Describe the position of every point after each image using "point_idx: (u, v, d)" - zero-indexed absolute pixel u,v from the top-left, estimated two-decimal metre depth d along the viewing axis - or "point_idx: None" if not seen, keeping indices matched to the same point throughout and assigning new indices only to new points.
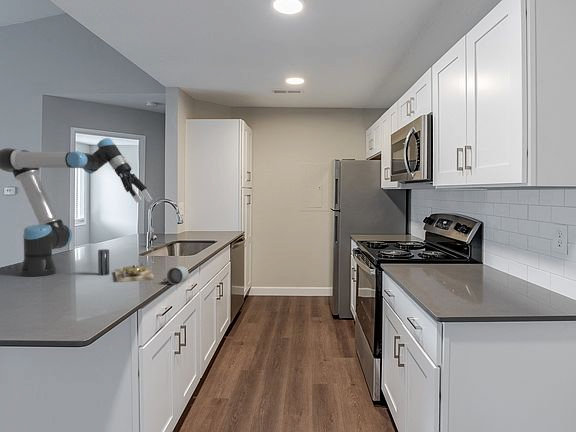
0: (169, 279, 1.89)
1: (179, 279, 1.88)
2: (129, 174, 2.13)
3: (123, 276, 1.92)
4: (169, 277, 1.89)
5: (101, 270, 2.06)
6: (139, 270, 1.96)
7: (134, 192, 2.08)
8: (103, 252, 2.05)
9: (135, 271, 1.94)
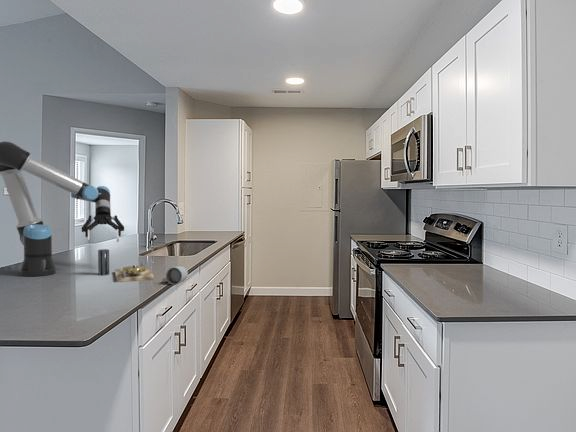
0: (168, 279, 1.89)
1: (178, 279, 1.88)
2: None
3: (123, 276, 1.92)
4: (168, 277, 1.89)
5: (101, 270, 2.06)
6: (139, 270, 1.96)
7: None
8: (103, 252, 2.05)
9: (135, 271, 1.94)
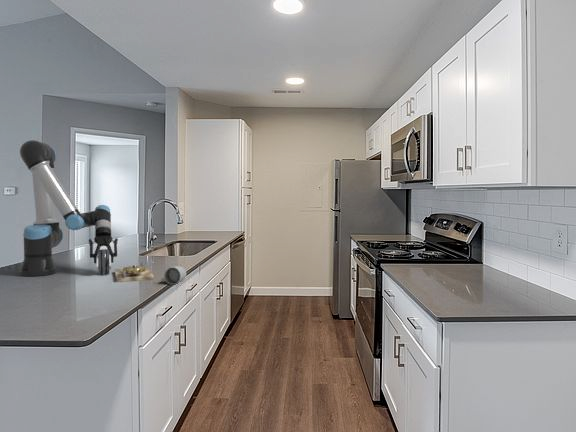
0: (167, 279, 1.89)
1: (177, 279, 1.88)
2: None
3: (123, 276, 1.92)
4: (167, 277, 1.90)
5: (101, 270, 2.06)
6: (139, 270, 1.96)
7: None
8: (103, 252, 2.05)
9: (135, 271, 1.94)
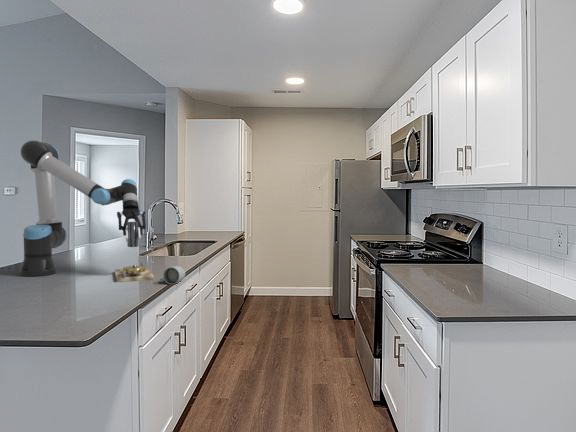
0: (166, 278, 1.90)
1: (176, 279, 1.89)
2: None
3: (123, 276, 1.92)
4: (166, 277, 1.90)
5: (130, 242, 2.04)
6: (139, 270, 1.96)
7: None
8: (132, 224, 2.04)
9: (135, 271, 1.94)
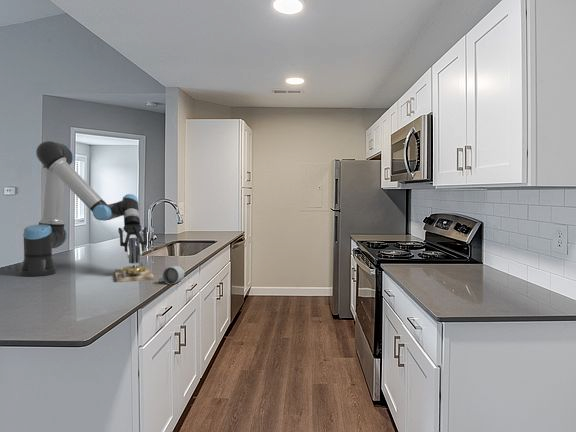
0: (165, 278, 1.90)
1: (175, 279, 1.89)
2: None
3: (123, 276, 1.92)
4: (165, 277, 1.90)
5: (132, 258, 2.05)
6: (139, 270, 1.96)
7: None
8: (134, 240, 2.04)
9: (135, 271, 1.94)
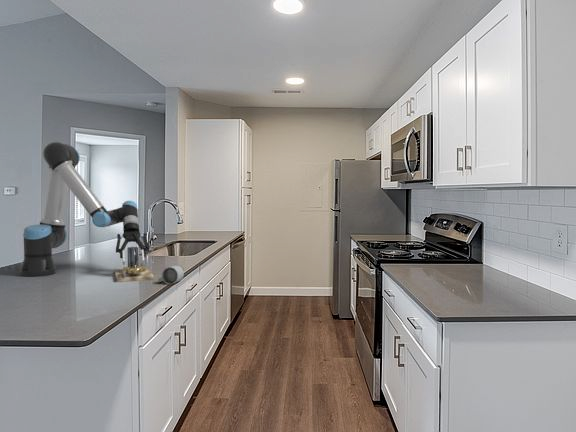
0: (164, 278, 1.90)
1: (174, 279, 1.89)
2: None
3: (123, 276, 1.92)
4: (164, 277, 1.90)
5: None
6: (139, 270, 1.96)
7: None
8: (133, 250, 2.04)
9: (135, 271, 1.94)
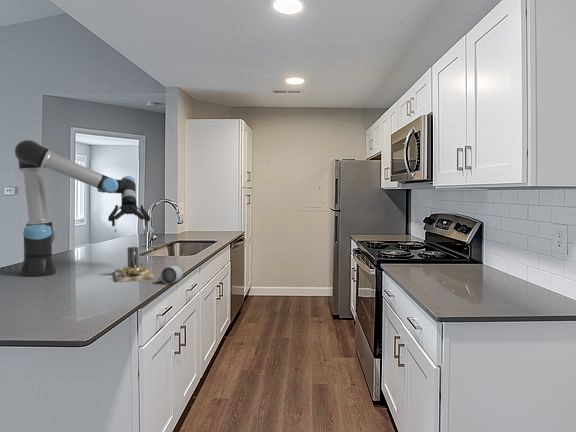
0: (163, 278, 1.90)
1: (173, 279, 1.89)
2: None
3: (123, 276, 1.92)
4: (163, 277, 1.90)
5: None
6: (139, 270, 1.96)
7: None
8: (133, 250, 2.04)
9: (135, 271, 1.94)
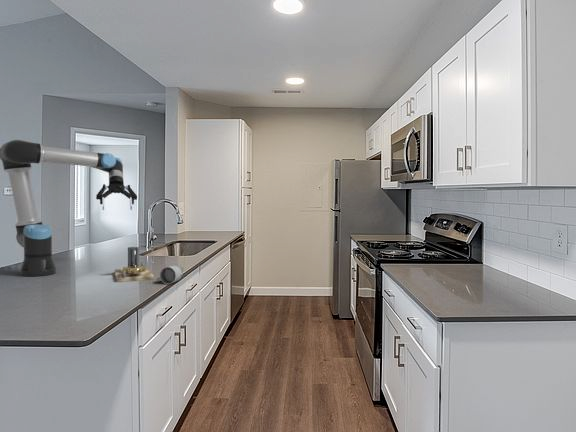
0: (162, 278, 1.90)
1: (172, 279, 1.89)
2: None
3: (123, 276, 1.92)
4: (162, 277, 1.90)
5: None
6: (139, 270, 1.96)
7: None
8: (133, 249, 2.04)
9: (135, 271, 1.94)
